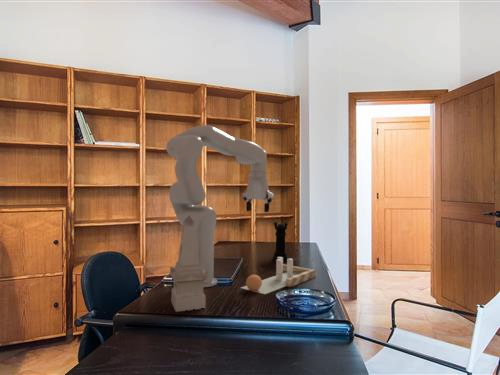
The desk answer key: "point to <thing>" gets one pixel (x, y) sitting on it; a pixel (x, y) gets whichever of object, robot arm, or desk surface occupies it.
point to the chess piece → (280, 241)
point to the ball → (254, 282)
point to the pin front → (278, 270)
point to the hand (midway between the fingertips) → (257, 211)
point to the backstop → (299, 275)
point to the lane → (271, 284)
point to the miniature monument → (188, 272)
